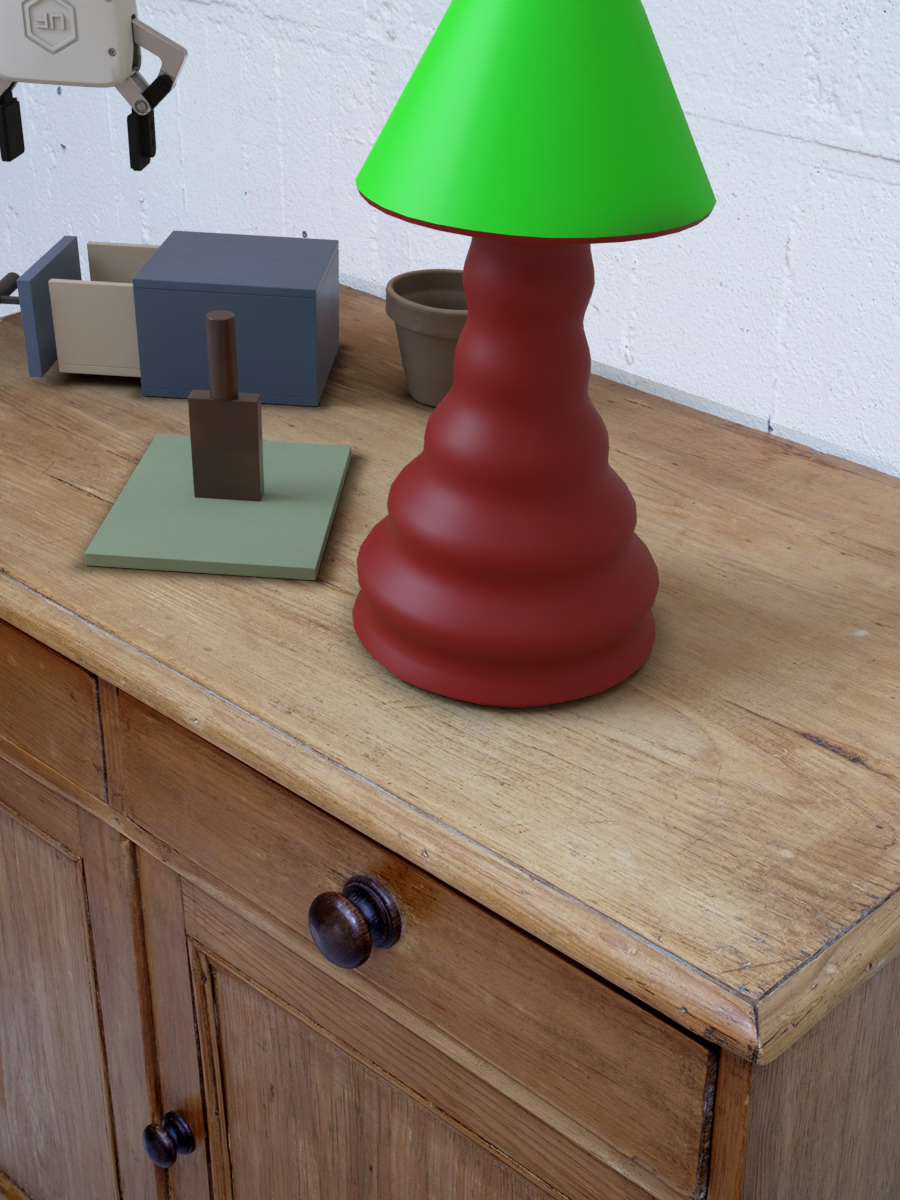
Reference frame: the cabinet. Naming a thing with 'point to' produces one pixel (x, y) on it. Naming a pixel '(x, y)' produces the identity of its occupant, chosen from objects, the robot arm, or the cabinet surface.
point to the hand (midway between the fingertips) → (77, 162)
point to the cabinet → (240, 313)
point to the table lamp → (524, 350)
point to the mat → (224, 515)
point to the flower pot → (428, 328)
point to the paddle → (225, 423)
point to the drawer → (80, 308)
